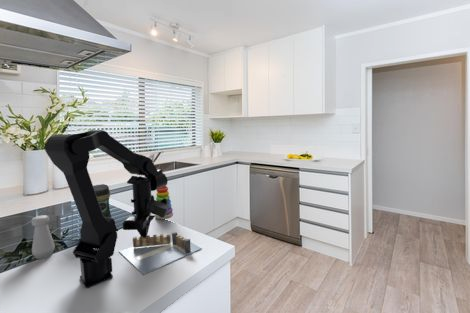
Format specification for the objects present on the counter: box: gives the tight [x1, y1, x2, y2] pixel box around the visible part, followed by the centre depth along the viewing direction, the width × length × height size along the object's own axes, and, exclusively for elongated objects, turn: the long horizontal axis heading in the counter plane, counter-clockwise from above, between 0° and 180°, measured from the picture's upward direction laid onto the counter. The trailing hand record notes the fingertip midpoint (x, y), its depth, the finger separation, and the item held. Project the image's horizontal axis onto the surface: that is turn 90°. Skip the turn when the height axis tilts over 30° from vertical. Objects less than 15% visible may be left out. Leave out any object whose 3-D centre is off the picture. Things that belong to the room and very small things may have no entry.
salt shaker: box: [31, 214, 56, 260], centre depth 77 cm, size 6×6×13 cm
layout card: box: [118, 231, 202, 276], centre depth 81 cm, size 20×18×1 cm
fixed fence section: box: [171, 231, 191, 253], centre depth 82 cm, size 2×9×4 cm, turn 45°
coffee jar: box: [93, 183, 112, 218], centre depth 94 cm, size 10×8×19 cm
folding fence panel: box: [132, 233, 171, 248], centre depth 83 cm, size 12×1×3 cm, turn 102°
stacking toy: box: [154, 180, 174, 220], centre depth 110 cm, size 8×8×19 cm
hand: (144, 238), depth 84 cm, fingers closed
